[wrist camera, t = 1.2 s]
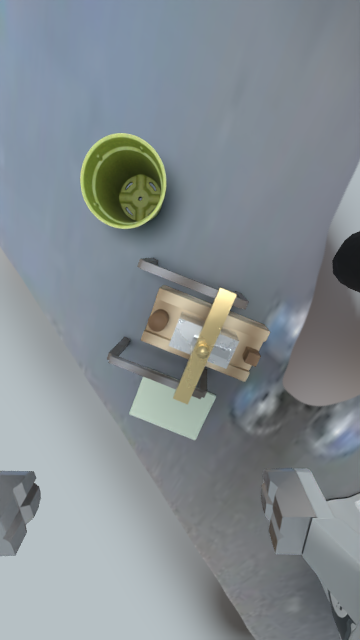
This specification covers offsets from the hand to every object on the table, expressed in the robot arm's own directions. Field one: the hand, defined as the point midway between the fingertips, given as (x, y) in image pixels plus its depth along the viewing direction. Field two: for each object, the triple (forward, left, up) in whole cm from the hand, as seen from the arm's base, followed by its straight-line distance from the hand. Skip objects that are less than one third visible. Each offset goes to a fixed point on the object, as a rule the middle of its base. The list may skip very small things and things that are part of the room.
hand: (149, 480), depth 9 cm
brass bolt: (-3, +2, -23) cm, 24 cm away
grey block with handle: (-3, +2, -28) cm, 29 cm away
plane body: (-1, +2, -31) cm, 31 cm away
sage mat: (-3, +16, -31) cm, 35 cm away
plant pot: (+12, -12, -32) cm, 36 cm away
